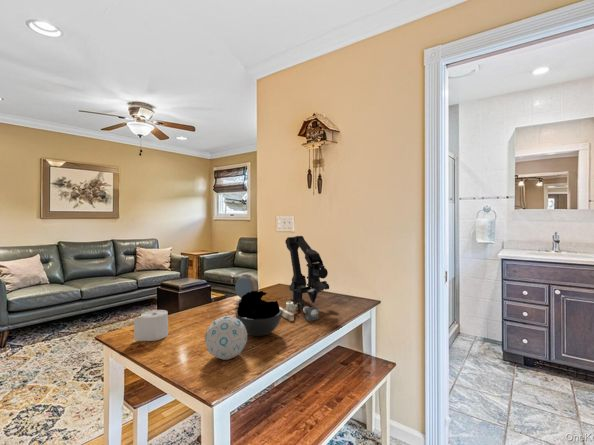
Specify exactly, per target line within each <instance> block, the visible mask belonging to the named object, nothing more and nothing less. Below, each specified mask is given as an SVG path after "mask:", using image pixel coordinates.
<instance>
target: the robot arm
mask: <svg viewBox="0 0 594 445" xmlns="http://www.w3.org/2000/svg"><path fill="white" fill-rule="evenodd" d="M285 245H286V248H287V250H288V252H289V253H290V254H289V255H290V259H291V260H290V261H291V266H292V274H293V275H292V277H291V284H290V285H289V286H288V287H289V291H290V292H292V298H290V300H291V302H293V303H295V302H296V301H295V300H296V299H297V300H298V299H299V298H300V301H302V300H303V302H304V301H305V299H304V298H303V294H308V296H309V299H310V301H311V303H312V304H315V302H316V299H317V296H318V295H319V294H320V293H321V292H324V290H330V285H329V283H328V282H327V281H326V280H323V281H322V280H321V279H325V278H327V276H328V274H329V273H328V269H327V268H326V267H325V265H324V261H323V260H322V258H321V255H320V253H319V252H317V251H316V250H315V249H313V248H312V247H311V246H310V245H309V244H308V242H307V241H306V240H305V238H304V236H302V235H296V236H290V237H289V236H288V237H286V239H285ZM299 249H300V250H301V251H302V253H303V254H304V259H305V261H306V263H307V264H306V265H305V266H306V267H307V276H306V275H304V274H302V269H301V263H300V262H301V261H300V256H299ZM306 279H307V280H306Z"/></svg>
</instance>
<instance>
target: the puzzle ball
mask: <svg viewBox="0 0 594 445" xmlns="http://www.w3.org/2000/svg"><path fill="white" fill-rule="evenodd" d="M247 341H248V333H247V331H246V328H245V326H244V325H243V323H242V322H241V321H240V320H239V319H237V318H236V316H232V315H231V316H230V315H225V316H221V317H218V318H216V319H215V320H214V321H212V322H211V324H210V325H209V326H208V327H207V330H206V333H205V341H204V342H205V346H206V349H207V351H208V353H209V354H210V355H212V357H215V358H217V359H220V360H224V361H229V360H231V359H233V358H235V357H237V356H238V355H240V354H241V353H242V352H243V350H244V349H245V347H246V344H247Z"/></svg>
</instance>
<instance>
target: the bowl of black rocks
mask: <svg viewBox="0 0 594 445" xmlns="http://www.w3.org/2000/svg"><path fill="white" fill-rule="evenodd" d="M267 294H268V292H265V291H263V290H260V291H259V290H258V291H257V290H256V291H251V292H248V293H246V295H243V296H242V299H241V298H240V299H241V302H240V303H239V305H238V307H237V311H236V312H235V318H237V319H239V320H240V321H241V322H242V323H243V325H244V326H245V328H246V331H247V335H249V336H253V337H263V336H267V335H269V334H271V333H272V332H273V331H274V330H275V329H276V328H277V327H278V325H279V324H280V321H281V320H282V317H283V316H282V311H281V309H279V307H280V305H279V303H278V300H275V301H272V300H271V301H266V300H264V299H262V298H263V296H265V295H267Z"/></svg>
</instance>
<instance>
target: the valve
mask: <svg viewBox="0 0 594 445" xmlns="http://www.w3.org/2000/svg"><path fill="white" fill-rule="evenodd" d="M295 301H296V302H294V301H287V302H286V303H285V310H287V311H288V312H290V313H292V314H294V311H295V310H297V311H303V308H304V307H305V306H306V304H305V303H304V301H303V300H302V301H300V298H299V299H298V300H297V299H296V300H295Z"/></svg>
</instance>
